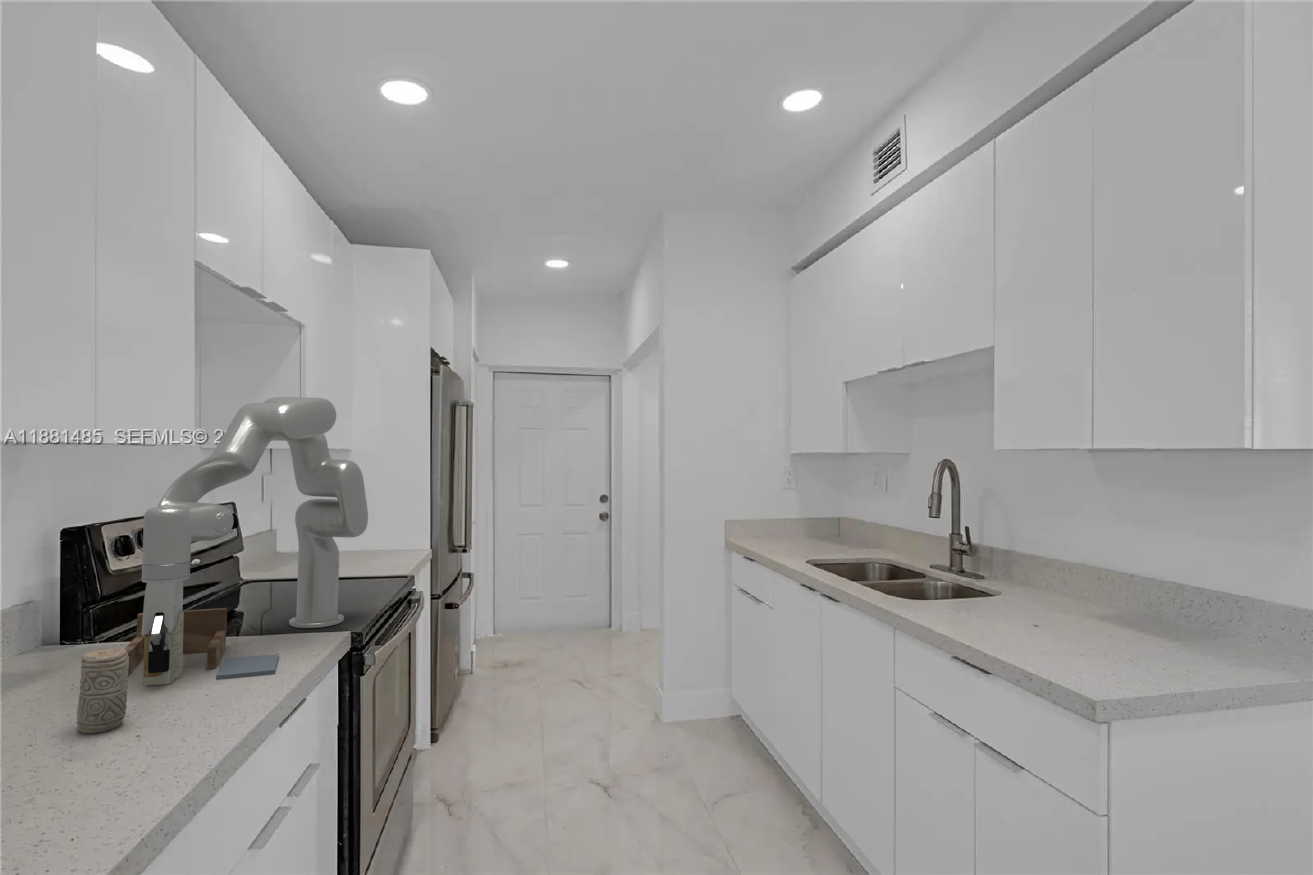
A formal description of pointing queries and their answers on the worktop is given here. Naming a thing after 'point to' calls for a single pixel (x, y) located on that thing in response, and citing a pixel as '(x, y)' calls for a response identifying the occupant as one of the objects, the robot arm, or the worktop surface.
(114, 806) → the worktop surface
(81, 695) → the carving
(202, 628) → the shelf bay
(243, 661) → the slate pad
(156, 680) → the skincare box
